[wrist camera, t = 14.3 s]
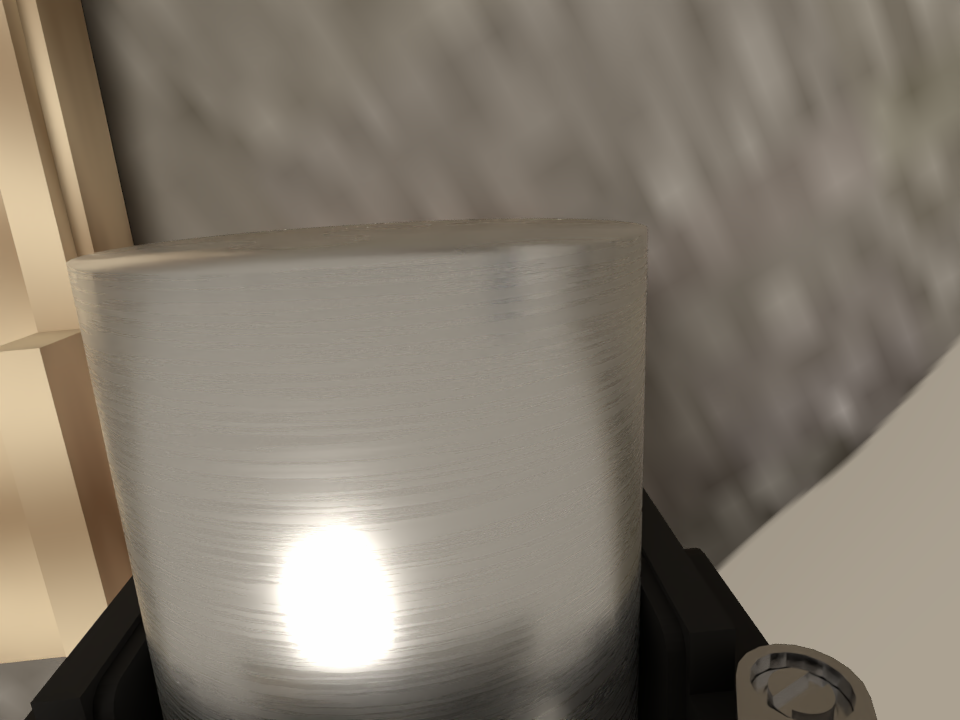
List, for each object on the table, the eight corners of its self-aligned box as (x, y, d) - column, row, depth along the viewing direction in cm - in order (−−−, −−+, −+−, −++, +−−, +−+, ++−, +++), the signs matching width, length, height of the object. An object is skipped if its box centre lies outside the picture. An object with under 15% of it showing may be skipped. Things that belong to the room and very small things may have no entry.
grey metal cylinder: (573, 716, 13) (708, 1129, 7) (270, 757, 13) (159, 1241, 7) (567, 213, 10) (769, 243, 5) (185, 234, 10) (-116, 297, 4)
